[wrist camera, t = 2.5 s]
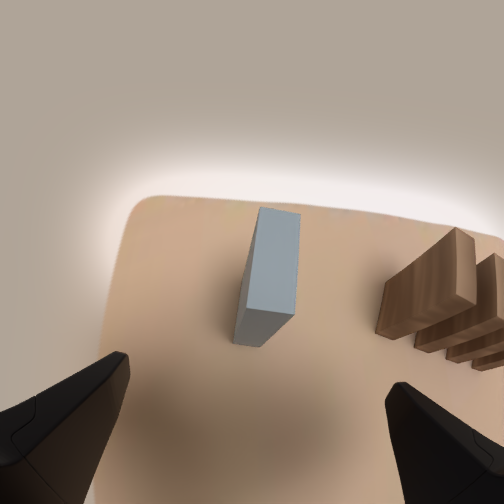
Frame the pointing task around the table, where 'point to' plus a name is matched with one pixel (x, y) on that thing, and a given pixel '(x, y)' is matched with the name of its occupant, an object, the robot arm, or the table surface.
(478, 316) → the domino
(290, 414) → the table surface
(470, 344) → the domino
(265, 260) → the domino
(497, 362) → the domino
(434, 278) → the domino
